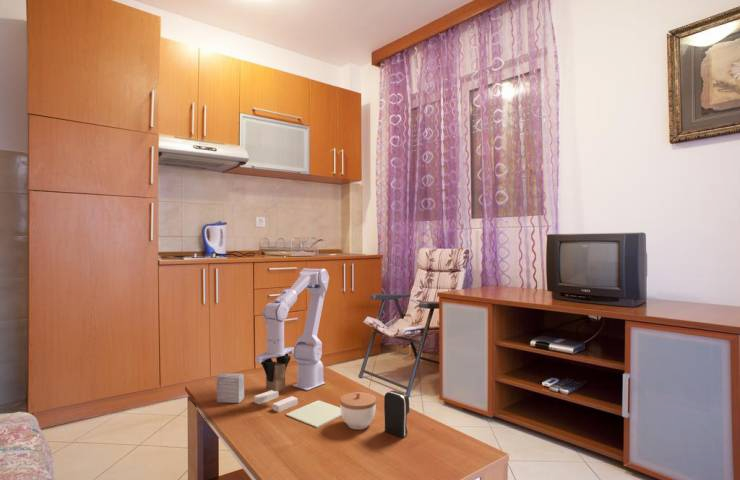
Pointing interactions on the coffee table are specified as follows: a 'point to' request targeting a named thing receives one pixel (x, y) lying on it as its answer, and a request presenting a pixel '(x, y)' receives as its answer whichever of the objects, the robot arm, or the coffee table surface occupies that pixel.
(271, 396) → the slot blocks
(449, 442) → the coffee table surface
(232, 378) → the medicine box
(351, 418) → the lidded jar
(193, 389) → the coffee table surface
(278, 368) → the walnut block
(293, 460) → the coffee table surface
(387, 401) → the battery charger
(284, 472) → the coffee table surface
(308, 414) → the mat
